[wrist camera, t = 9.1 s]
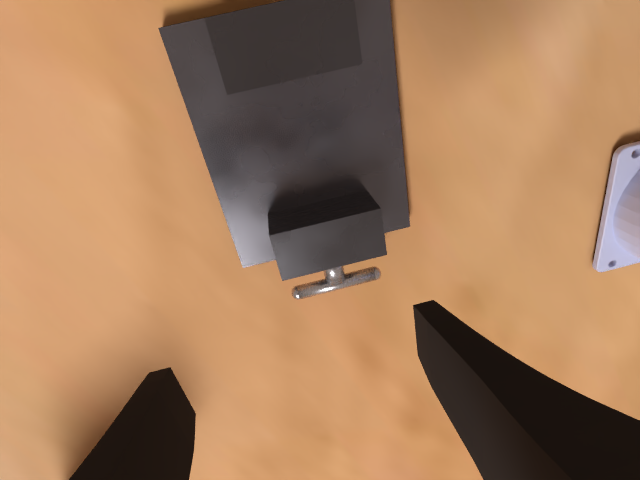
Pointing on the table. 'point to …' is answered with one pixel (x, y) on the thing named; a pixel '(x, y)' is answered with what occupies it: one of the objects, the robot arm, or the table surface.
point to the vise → (299, 131)
